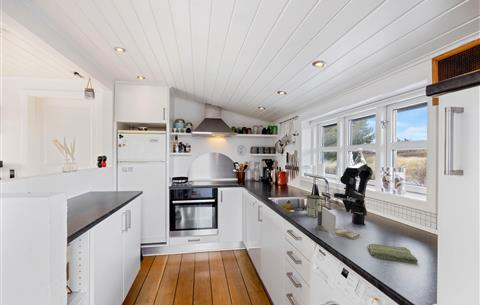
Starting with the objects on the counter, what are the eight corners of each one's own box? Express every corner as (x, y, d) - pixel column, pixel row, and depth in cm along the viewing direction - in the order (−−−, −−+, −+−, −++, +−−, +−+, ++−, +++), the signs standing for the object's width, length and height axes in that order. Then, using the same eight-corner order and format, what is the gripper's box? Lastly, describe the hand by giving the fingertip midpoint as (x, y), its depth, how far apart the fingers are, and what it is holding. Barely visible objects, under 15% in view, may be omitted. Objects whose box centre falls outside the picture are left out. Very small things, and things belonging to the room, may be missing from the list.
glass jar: (308, 212, 174) (308, 194, 174) (322, 214, 169) (322, 196, 169) (304, 215, 165) (305, 196, 165) (318, 217, 160) (319, 198, 160)
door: (336, 236, 119) (336, 215, 119) (333, 236, 119) (334, 215, 119) (323, 224, 139) (323, 206, 139) (320, 224, 139) (321, 206, 139)
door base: (359, 236, 126) (360, 218, 126) (353, 239, 120) (354, 221, 120) (321, 225, 143) (322, 209, 143) (314, 227, 138) (315, 211, 138)
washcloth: (366, 247, 112) (366, 240, 112) (408, 253, 106) (408, 246, 106) (371, 258, 100) (371, 251, 100) (419, 266, 94) (419, 258, 94)
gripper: (348, 184, 129) (345, 211, 126) (373, 190, 134) (370, 216, 131) (334, 183, 139) (331, 209, 137) (358, 189, 144) (355, 213, 142)
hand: (347, 212), depth 136 cm, fingers closed
